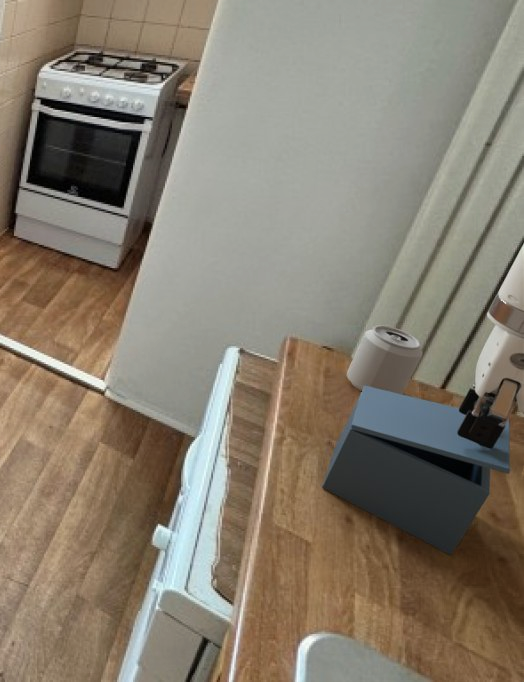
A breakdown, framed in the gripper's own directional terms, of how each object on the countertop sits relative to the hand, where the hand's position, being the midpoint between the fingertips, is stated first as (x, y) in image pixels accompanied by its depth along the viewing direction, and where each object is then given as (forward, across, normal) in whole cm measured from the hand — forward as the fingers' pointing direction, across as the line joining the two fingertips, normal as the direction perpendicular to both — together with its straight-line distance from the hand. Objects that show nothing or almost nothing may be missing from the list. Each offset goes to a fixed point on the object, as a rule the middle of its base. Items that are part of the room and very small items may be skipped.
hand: (474, 427), depth 81 cm
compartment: (+17, 0, +4) cm, 17 cm away
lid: (+3, 0, +4) cm, 5 cm away
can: (+17, +28, +8) cm, 34 cm away
